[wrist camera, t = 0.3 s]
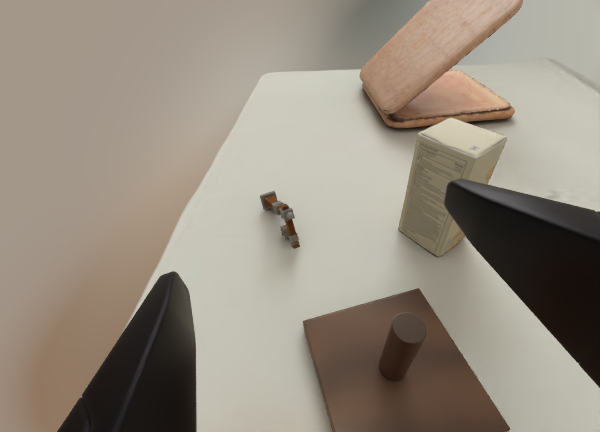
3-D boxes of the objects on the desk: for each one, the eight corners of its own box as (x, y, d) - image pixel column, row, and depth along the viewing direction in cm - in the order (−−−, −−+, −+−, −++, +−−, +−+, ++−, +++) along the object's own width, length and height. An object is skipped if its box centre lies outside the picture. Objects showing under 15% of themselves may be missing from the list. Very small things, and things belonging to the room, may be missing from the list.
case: (356, 85, 60) (362, -15, 49) (458, 76, 60) (488, -26, 49) (383, 134, 45) (401, 7, 34) (519, 122, 45) (582, -10, 34)
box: (465, 238, 29) (514, 137, 22) (437, 259, 28) (479, 159, 20) (421, 210, 32) (450, 114, 25) (394, 227, 31) (416, 130, 23)
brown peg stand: (503, 433, 18) (570, 400, 13) (349, 491, 17) (359, 478, 12) (415, 295, 25) (438, 239, 20) (303, 327, 24) (297, 276, 19)
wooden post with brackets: (291, 254, 28) (279, 211, 26) (269, 229, 35) (259, 194, 33) (308, 247, 28) (297, 204, 27) (283, 223, 36) (273, 189, 34)
